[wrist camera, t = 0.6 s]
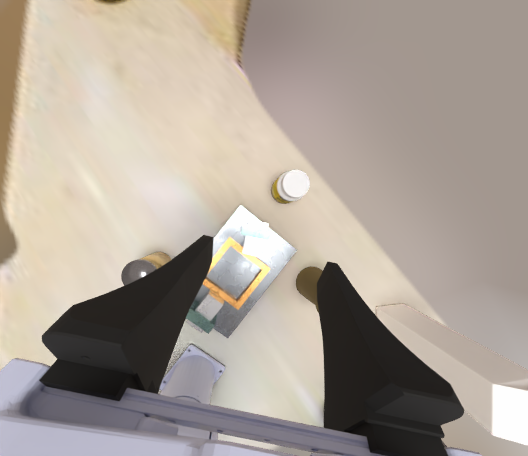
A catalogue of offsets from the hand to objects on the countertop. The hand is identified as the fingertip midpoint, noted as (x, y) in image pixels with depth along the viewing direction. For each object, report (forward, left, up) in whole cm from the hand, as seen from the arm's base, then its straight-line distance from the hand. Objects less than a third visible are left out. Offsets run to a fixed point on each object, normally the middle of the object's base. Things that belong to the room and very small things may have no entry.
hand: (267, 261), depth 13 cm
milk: (+4, -33, -24) cm, 41 cm away
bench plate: (-7, -2, -24) cm, 25 cm away
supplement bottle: (+10, 0, -24) cm, 26 cm away
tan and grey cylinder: (-14, +9, -24) cm, 29 cm away
